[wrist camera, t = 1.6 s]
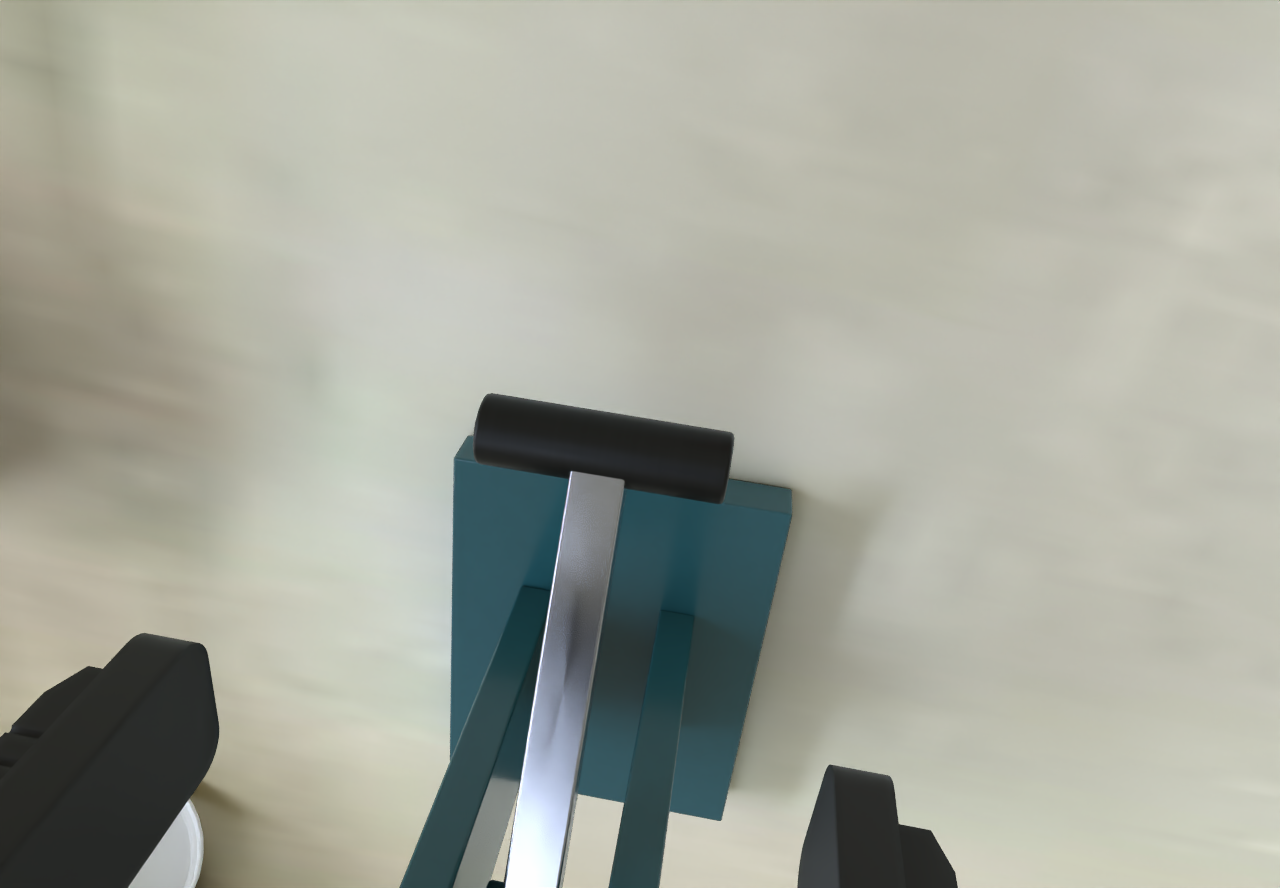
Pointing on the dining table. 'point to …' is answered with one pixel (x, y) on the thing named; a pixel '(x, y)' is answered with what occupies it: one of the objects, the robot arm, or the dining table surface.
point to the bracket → (601, 661)
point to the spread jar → (175, 855)
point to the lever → (581, 583)
